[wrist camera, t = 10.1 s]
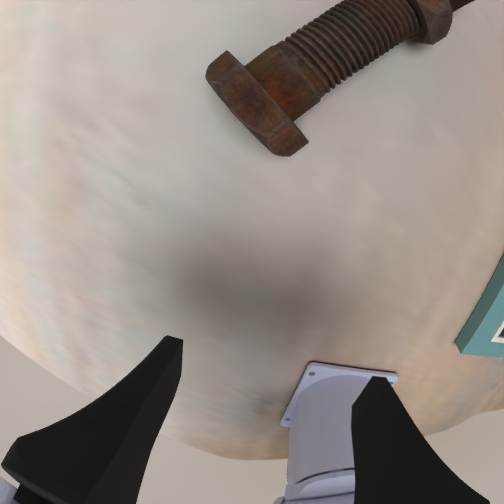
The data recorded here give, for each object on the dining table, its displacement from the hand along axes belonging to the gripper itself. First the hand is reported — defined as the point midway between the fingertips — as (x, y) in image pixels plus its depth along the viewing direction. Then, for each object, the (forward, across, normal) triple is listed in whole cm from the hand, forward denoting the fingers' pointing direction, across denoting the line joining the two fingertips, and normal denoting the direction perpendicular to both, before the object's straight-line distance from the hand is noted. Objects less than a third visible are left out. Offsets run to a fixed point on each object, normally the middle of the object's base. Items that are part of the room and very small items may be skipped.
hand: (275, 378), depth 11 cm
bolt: (+10, -1, -14) cm, 17 cm away
